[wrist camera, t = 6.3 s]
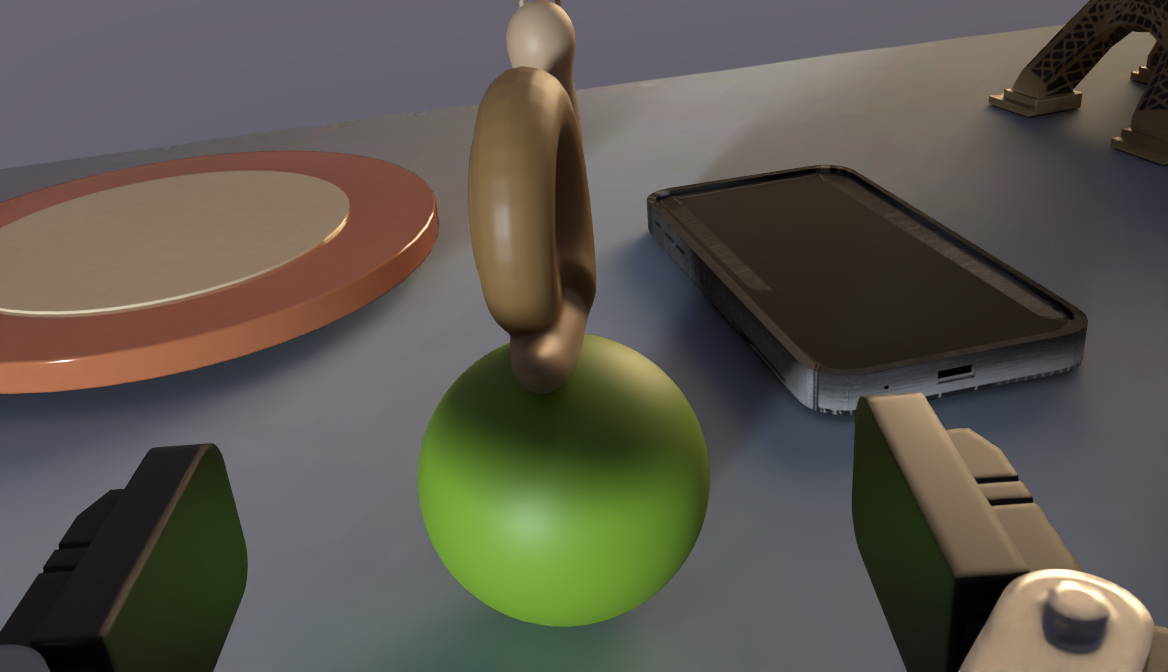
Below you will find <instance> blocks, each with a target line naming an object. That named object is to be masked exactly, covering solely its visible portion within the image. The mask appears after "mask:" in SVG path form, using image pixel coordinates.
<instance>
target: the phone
mask: <svg viewBox="0 0 1168 672" xmlns="http://www.w3.org/2000/svg"><path fill="white" fill-rule="evenodd" d="M647 213H648V229H649V232H650V233H651V234H652V235H653V236H654V238H655V239H656V240H657V241H658V242H659V243H660V244H661V246H662V247H663V248H664V249H665V250H666V251H667V252H668V253H669V255H670V256H671V257H672V258H673V259H674V260H675V261H676V263H677V264H678V265H679V266H680V267H681V268H682V269H683V270H684V272H685V273H686V274H687V275H688V276H689V277H690V278H691V280H692V281H693V282H694V283H695V284H696V285H697V286H698V287H699V289H700V290H701V291H702V292H703V293H704V294H705V295H706V296H707V298H708V299H709V300H710V301H711V302H712V303H713V304H714V306H715V307H716V308H717V309H718V310H719V311H720V312H721V313H722V315H723V316H724V317H725V318H726V319H727V320H728V321H729V322H730V324H731V325H732V326H733V327H734V328H735V329H736V330H737V332H738V333H739V334H740V335H741V336H742V337H743V338H744V339H745V341H746V342H747V343H748V344H749V345H750V346H751V347H752V348H753V350H754V351H755V352H756V353H757V354H758V355H759V356H760V358H761V359H762V360H763V361H764V362H765V363H766V364H767V365H768V367H769V368H770V369H771V370H772V371H773V372H774V373H775V374H776V376H777V377H778V378H779V379H780V380H781V381H782V382H783V383H784V385H785V386H786V387H787V388H788V389H789V390H790V391H791V393H792V394H793V395H794V396H795V397H796V398H797V399H798V400H799V401H800V402H801V403H803V404H804V405H805V406H806V407H809V408H811V409H813V410H816V411H818V412H823V413H827V414H832V415H856V406H857V402H858V399H859V398H860V397H861V396H872V395H885V394H898V393H912V392H921V393H922V394H923V395H924V396H925V398H926V399H927V401H929V400H934V399H938V398H943V397H948V396H953V395H958V394H963V393H968V392H973V391H978V390H983V389H988V388H993V387H998V386H1003V385H1008V384H1012V383H1017V382H1022V381H1027V380H1032V379H1037V378H1042V377H1047V376H1052V375H1057V374H1062V373H1065V372H1068V371H1071V370H1074V369H1075V368H1076V367H1078V366H1079V365H1080V364H1081V361H1082V359H1083V352H1084V345H1085V338H1086V331H1087V323H1088V320H1087V317H1086V315H1085V314H1084V313H1083V312H1082V311H1081V310H1080V309H1078V308H1077V307H1075V306H1074V305H1072V304H1070V303H1069V302H1067V301H1066V300H1064V299H1062V298H1061V297H1059V296H1057V295H1056V294H1054V293H1053V292H1051V291H1049V290H1048V289H1046V288H1044V287H1043V286H1041V285H1040V284H1038V283H1036V282H1035V281H1033V280H1031V279H1030V278H1028V277H1027V276H1025V275H1023V274H1022V273H1020V272H1018V271H1017V270H1015V269H1014V268H1012V267H1010V266H1009V265H1007V264H1006V263H1004V262H1002V261H1001V260H999V259H997V258H996V257H994V256H993V255H991V254H989V253H988V252H986V251H984V250H983V249H981V248H980V247H978V246H976V245H975V244H973V243H971V242H970V241H968V240H967V239H965V238H963V237H962V236H960V235H958V234H957V233H955V232H954V231H952V230H950V229H949V228H947V227H945V226H944V225H942V224H941V223H939V222H937V221H936V220H934V219H933V218H931V217H929V216H928V215H926V214H924V213H923V212H921V211H920V210H918V209H916V208H915V207H913V206H911V205H910V204H908V203H907V202H905V201H903V200H902V199H900V198H898V197H897V196H895V195H894V194H892V193H890V192H889V191H887V190H885V189H884V188H882V187H881V186H879V185H877V184H876V183H874V182H872V181H871V180H869V179H868V178H866V177H864V176H863V175H861V174H859V173H858V172H856V171H855V170H852V169H850V168H847V167H843V166H835V165H816V166H808V167H802V168H795V169H789V170H782V171H776V172H770V173H763V174H757V175H750V176H744V177H737V178H731V179H725V180H718V181H712V182H705V183H699V184H693V185H686V186H680V187H673V188H668V189H663V190H659V191H657V192H654V193H652V194H651V195H649V196H648V198H647Z"/></svg>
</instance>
